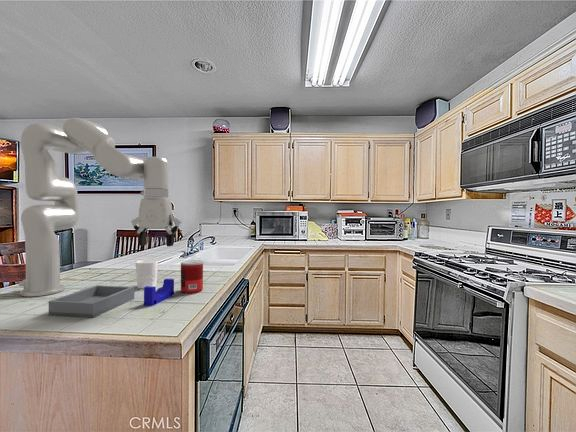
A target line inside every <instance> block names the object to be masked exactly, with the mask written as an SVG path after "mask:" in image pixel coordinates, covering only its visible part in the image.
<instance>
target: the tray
mask: <svg viewBox="0 0 576 432" xmlns="http://www.w3.org/2000/svg"><path fill="white" fill-rule="evenodd" d="M134 299H135V286H124V285H123V286H121V285H119V286H118V285H101V284H100V285H99V284H95V285H93V286H91V287H87V288H84V289H82V290H78V291H75V292H72V293H69V294H65V295H63V296H61V297H57V298H54V299H52V300H48V316H54V315H56V316H55V317H72V318H87V319H94V318H96V317H99V316H100V314H101V315H102V313H103V314H105V313H107V312H109V311H111V310H114V309H115V308H117V307H120V306H122V305H124V304H126V303H128V302H130V301H133V300H134Z"/></svg>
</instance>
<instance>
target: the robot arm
mask: <svg viewBox="0 0 576 432" xmlns="http://www.w3.org/2000/svg"><path fill="white" fill-rule="evenodd" d="M62 125H63V126H62V128H61V127H59V126H55V125H52V124H48V123H44V122H43V123H42V122H34V123H30V124H28V125H27V126H26V127H25V128H23V130H22V132H21V135H20V140H19V141H20V148H21V151H22V156H23V159H24V160H23V161H24V179H25V180H24V181H25V182H24V183H25V192H26V196H27V197H28V198H29V199H31V200H33V201H41V202H53V203H54V204H33V205H30V206H28V207H26V208H24V209H23V211H22V212H21V213H20V214H21V215H20V221H21V225H22V229H23V234H24V242H25V243H24V247H25V250H24V251H25V279H23V280H22V281H19V282H18V286H19V287H23V289H22V290H20V292H19V295H20V296H21V297H42V296H43V297H44V296H49V295H53V294H57V293H61V292H63V291H65V290H66V285H64V284H61V278H60V277H61V275H60V274H61V273H60V272H61V269H60V268H61V267H60V263H61V259H60V257H61V256H60V255H61V254H60V253H61V252H60V251H61V250H60V240H59V238H58V236H57V234H56V233H55V231H61V230H69V229H72V228H73V227H75V226H76V225H77V223H78V221H79V203H78V202H79V201H78V200H79V199H78V197H79V195H78V188H77V186H76V184H75V182H74V181H73V180H71V178H68V177H64V176H58V175H57V173H56V172H57V171H56V163H55V160H54V157H53V156H52V155H51V153H50V152H49V150H50V151H55V152H61V153H66V154H71V155H72V154H73V155H74V154H75V155H76V154H81V153H86V152H88V153H89V154H91V155H92V156H93V159H94V161H95V162H96V163H97V164H98V166H100V167H101V168H103V169H104V170H106V171H107V172H108V173H110V174H111V175H113V176H116V177H118V178H121V179H129V180H133V181H134V180H135V181H143V190H142V191H140V195H141V196H143V198H140V201H139V203H140V204H139V210H138V217H136V218H134V219H132V220H131V224H132V227H133V229H134V230H135V231H136V234H138V245H139V247H142V246H146V245H148V244H147V243H148V235H147V231H148V229H149V230H151V229H154V230H155V229H156V230H158V229H159V230H162V229H164V230H165V231H166V232H167V234H166V246H167V247H172V246H174V243H175V234H176V233H177V232H178V231H179V230H180V227H181V225H182V223H183V222H182V220H181V219H179V218H177V217H175V216H173V215H174V214H173V206H172V201H171V198H169V162H168V159H166V158H165V157H161V156H147V157H145V158H141V157H137V156H133V155H129V154H125V153H124V152H121V151H120V150H118V149H117V148H116V141H115V139H114V138H113V137H112V136H110V135H109V133H108V131H107V129H106V128H105V127H103V126H102V125H101V124H99V123H96V122H93V121H89V120H87V119H84V118H81V117H70V118H68V119H66V120H65V121H64V122H63V124H62ZM173 224H174V226H173Z"/></svg>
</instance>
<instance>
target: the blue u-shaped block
mask: <svg viewBox="0 0 576 432" xmlns="http://www.w3.org/2000/svg"><path fill="white" fill-rule="evenodd" d="M162 283H163V284H162V286H160V287H159V288H157V289H156V286H155V287H152V286H146V287H144V289H143V306H144V307H145V306H147V307H153V306H156V305H158V304H159V303H162V302H164V301H165V300H168V299H169V298H171V297H173V296H174V295H175V279H174V278H164V279H163V282H162Z"/></svg>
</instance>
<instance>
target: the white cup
mask: <svg viewBox="0 0 576 432" xmlns="http://www.w3.org/2000/svg"><path fill="white" fill-rule="evenodd" d="M158 266H159V260H157V259H141V260H137V261H135V273H136V275H135V276H136V286H137V289H141V290H142V289H143V290H144V287H146V286H152V287H155V288H156V287H157V282H158V279H157V278H158Z"/></svg>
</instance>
